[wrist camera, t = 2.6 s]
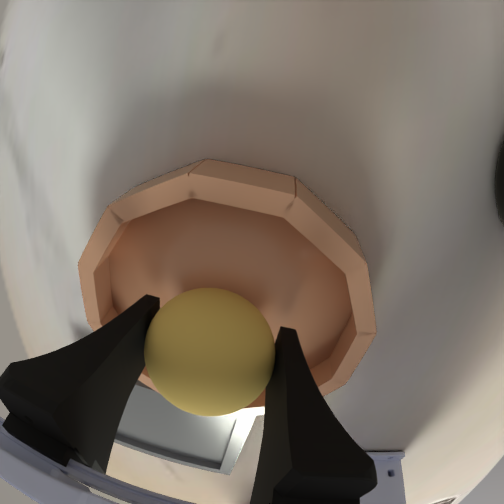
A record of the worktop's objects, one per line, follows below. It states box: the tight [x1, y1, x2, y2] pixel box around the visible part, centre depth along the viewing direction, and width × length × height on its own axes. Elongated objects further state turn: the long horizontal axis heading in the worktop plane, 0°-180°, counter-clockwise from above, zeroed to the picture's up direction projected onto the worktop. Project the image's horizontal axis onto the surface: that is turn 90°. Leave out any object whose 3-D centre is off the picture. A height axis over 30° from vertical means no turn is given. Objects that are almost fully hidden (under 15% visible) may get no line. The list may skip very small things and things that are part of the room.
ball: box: [144, 288, 275, 416], centre depth 11 cm, size 5×5×5 cm
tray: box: [114, 380, 256, 475], centre depth 20 cm, size 12×12×1 cm
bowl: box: [78, 159, 377, 417], centre depth 13 cm, size 13×13×2 cm
